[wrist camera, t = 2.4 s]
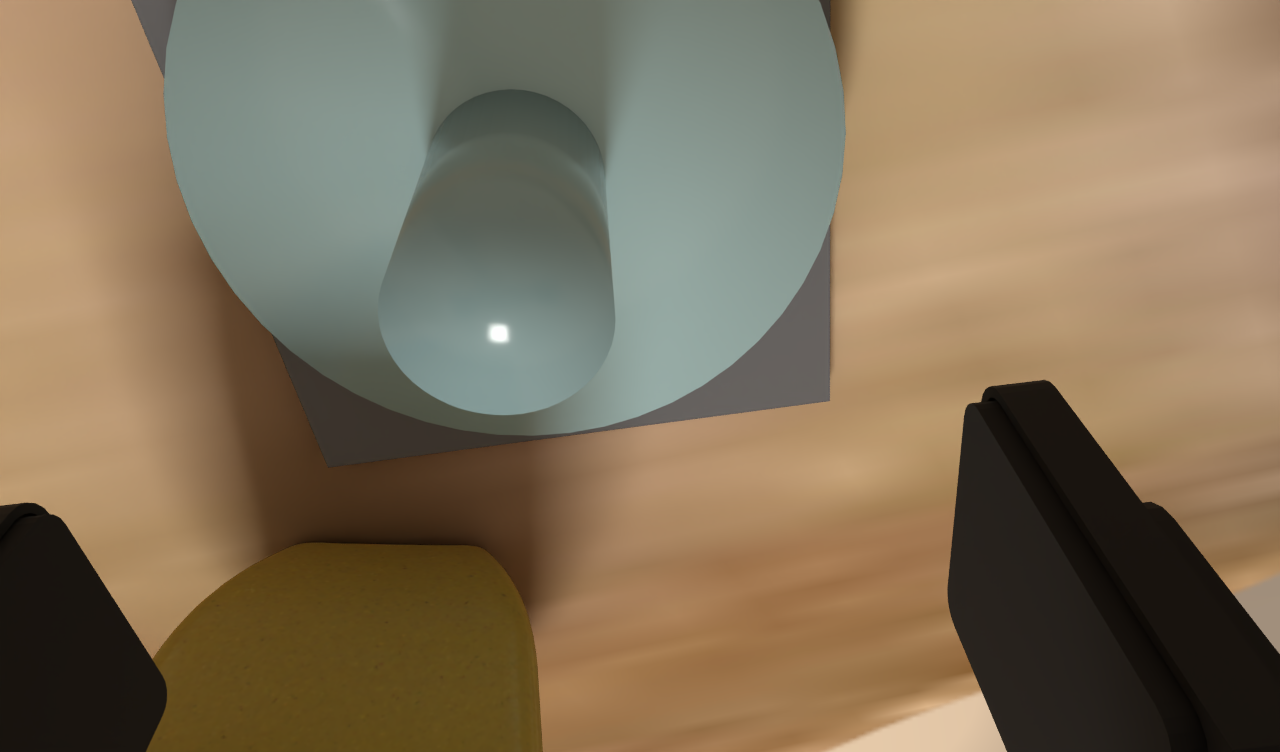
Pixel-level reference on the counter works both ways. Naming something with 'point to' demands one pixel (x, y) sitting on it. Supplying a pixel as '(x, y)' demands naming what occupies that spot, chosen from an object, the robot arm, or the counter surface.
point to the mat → (760, 379)
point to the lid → (509, 190)
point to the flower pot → (355, 656)
